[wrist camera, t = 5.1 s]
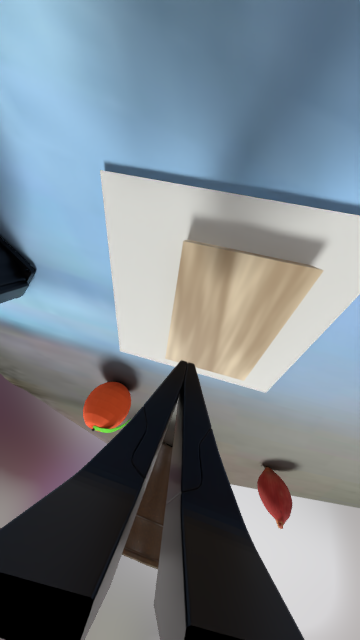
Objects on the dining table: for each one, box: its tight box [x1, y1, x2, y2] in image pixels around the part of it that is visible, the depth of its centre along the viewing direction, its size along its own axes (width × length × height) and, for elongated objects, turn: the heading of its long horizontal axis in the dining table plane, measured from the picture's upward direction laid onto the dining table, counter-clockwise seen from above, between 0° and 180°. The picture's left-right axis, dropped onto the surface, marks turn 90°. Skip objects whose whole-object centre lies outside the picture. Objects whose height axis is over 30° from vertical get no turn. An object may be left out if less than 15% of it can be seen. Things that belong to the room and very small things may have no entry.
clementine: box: [83, 382, 131, 433], centre depth 23 cm, size 8×7×7 cm
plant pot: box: [122, 443, 173, 569], centre depth 34 cm, size 16×16×16 cm
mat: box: [100, 170, 360, 393], centre depth 14 cm, size 20×18×1 cm
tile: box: [165, 240, 324, 381], centre depth 13 cm, size 2×12×9 cm
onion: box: [257, 467, 292, 529], centre depth 29 cm, size 6×6×8 cm
